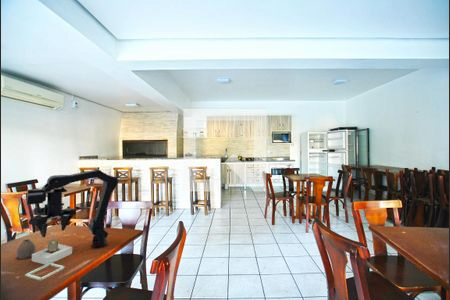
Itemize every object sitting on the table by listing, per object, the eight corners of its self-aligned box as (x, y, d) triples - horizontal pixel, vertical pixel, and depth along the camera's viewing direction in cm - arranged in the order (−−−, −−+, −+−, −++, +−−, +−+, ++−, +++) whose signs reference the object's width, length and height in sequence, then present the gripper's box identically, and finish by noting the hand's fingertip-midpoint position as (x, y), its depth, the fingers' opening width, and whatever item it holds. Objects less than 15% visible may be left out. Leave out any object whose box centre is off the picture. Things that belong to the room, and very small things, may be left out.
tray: (50, 265, 102) (50, 262, 102) (64, 269, 99) (64, 266, 99) (25, 277, 92) (25, 274, 92) (40, 282, 89) (40, 278, 89)
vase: (36, 258, 108) (37, 240, 108) (17, 263, 103) (17, 244, 103) (34, 253, 112) (34, 236, 112) (15, 257, 107) (16, 239, 107)
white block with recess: (57, 251, 115) (57, 243, 115) (72, 254, 112) (72, 247, 112) (31, 262, 104) (31, 254, 104) (47, 266, 101) (47, 258, 101)
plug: (53, 254, 110) (54, 238, 110) (59, 255, 109) (60, 239, 109) (45, 258, 107) (46, 241, 107) (51, 259, 105) (52, 242, 105)
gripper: (60, 196, 119) (59, 225, 119) (20, 204, 101) (19, 238, 101) (77, 198, 116) (76, 228, 116) (38, 207, 98) (37, 242, 98)
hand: (53, 233), depth 108 cm, fingers open, 9 cm apart
